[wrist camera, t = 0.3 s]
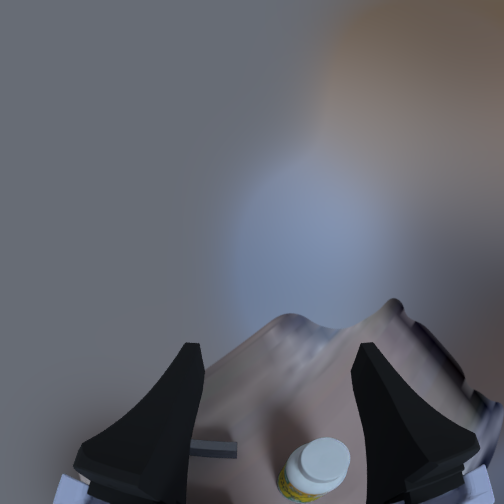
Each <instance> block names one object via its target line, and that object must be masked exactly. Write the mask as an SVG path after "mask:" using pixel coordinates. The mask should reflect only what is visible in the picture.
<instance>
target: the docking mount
mask: <svg viewBox="0 0 504 504" xmlns="http://www.w3.org/2000/svg"><path fill="white" fill-rule="evenodd" d="M189 455H192V456H202V457H215V458H237V442H219V441H205V440H194V439H191V444H190V452H189Z"/></svg>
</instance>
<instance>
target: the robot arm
mask: <svg viewBox="0 0 504 504" xmlns="http://www.w3.org/2000/svg"><path fill="white" fill-rule="evenodd" d="M204 375H205V370H204V365H203V360H202V355H201V349H200V344H199V343H185V344H184V345H183V347H182V348H181V350H180V351H179V353H178V355H177V356H176V358H175V359H174V360H173V362H172V363H171V365H170V366H169V367H168V369H167V370H166V371H165V373H164V374H163V375H162V377H161V378H160V379H159V381H158V382H157V383H156V384H155V385H154V386H153V388H152V389H151V390H150V391H149V393H148V394H147V395H146V396H145V397H144V398H143V399H142V400H141V401H140V402H139V403H138V404H137V405H136V406H135V407H134V408H132V409H131V410H130V411H129V412H128V413H127V414H126V415H124V416H123V417H122V418H121V419H119V420H118V421H117V422H115V423H114V424H113V425H111V426H110V427H108V428H107V429H106V430H104V431H103V432H101V433H100V434H98V435H96V436H94V437H92V438H91V439H89V440H87V441H85V442H84V443H82V445H81V447H80V449H79V451H78V453H77V456H76V459H75V462H74V465H73V467H74V469H75V470H76V471H77V472H79V473H80V474H81V475H83V476H84V477H86V478H87V479H89V480H90V485H88V484H86V483H84V482H81V481H79V480H77V479H74V478H72V477H70V476H68V475H66V474H62V477H61V480H60V483H59V486H58V489H57V492H56V495H55V498H54V501H53V504H186V487H187V473H188V462H189V452H190V444H191V437H192V432H193V427H194V423H195V419H196V415H197V411H198V408H199V403H200V399H201V395H202V391H203V384H204ZM351 378H352V385H353V391H354V395H355V399H356V403H357V407H358V411H359V415H360V419H361V423H362V427H363V431H364V437H365V446H366V459H367V499H366V504H493V503H494V502H495V499H494V495H493V491H492V487H491V484H490V480H489V477H488V473H487V470H486V467H485V465H482V466H480V467H478V468H476V469H474V470H472V471H470V472H468V473H466V474H465V475H462V471H463V470H464V465H463V463H465V462H466V461H468V460H469V459H470V458H472V457H473V456H474V455H475V454H476V453H478V451H479V450H480V445H479V443H478V440H477V437H476V435H475V433H473V432H471V431H469V430H467V429H465V428H463V427H461V426H459V425H457V424H456V423H454V422H452V421H451V420H449V419H448V418H446V417H445V416H443V415H442V414H441V413H439V412H438V411H436V410H435V409H434V408H433V407H431V406H430V405H429V404H428V403H427V402H425V401H424V400H423V399H422V398H421V397H420V396H419V395H418V394H417V393H416V392H415V391H414V390H413V389H412V388H411V387H410V386H409V385H408V384H407V383H406V382H405V381H404V380H403V378H402V377H401V376H400V375H399V374H398V373H397V371H396V370H395V369H394V368H393V367H392V365H391V364H390V363H389V362H388V360H387V359H386V358H385V357H384V355H383V354H382V353H381V352H380V350H379V349H378V348H377V347H376V345H375V344H374V343H373V342H370V343H361V344H360V347H359V350H358V353H357V355H356V358H355V361H354V364H353V366H352V369H351Z"/></svg>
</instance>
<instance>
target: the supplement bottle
mask: <svg viewBox="0 0 504 504" xmlns="http://www.w3.org/2000/svg"><path fill="white" fill-rule="evenodd" d="M349 464H350V453H349V451H348V449H347V447H346V446H345V445H344V444H343V443H342V442H341V441H339V440H337V439H334V438H329V437H323V438H318V439H315V440H313V441H311V442H310V443H306V444H304V445H302V446H300V447H299V448H297V449H296V450H295V451H294V452H293V453H292V454H291V455H290V457H289V459H288V460H287V462H286V464H285V465H284V467H283V469H282V470H281V472H280V474H279V477H278V481H277V485H278V489H279V491H280V493H281V494H282V495H283V496H284V497H285V498H287V499H288V500H291V501H294V502H297V503H308V502H311V501H314V500H316V499H318V498H320V497H321V496H323V495H325V494H327V493H328V492H330V491H332V490H333V489H335V488H336V487H337V486H339V485H340V484H341V482H342V481H343V480H344V478H345V476H346V473H347V468H348V466H349Z"/></svg>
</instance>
